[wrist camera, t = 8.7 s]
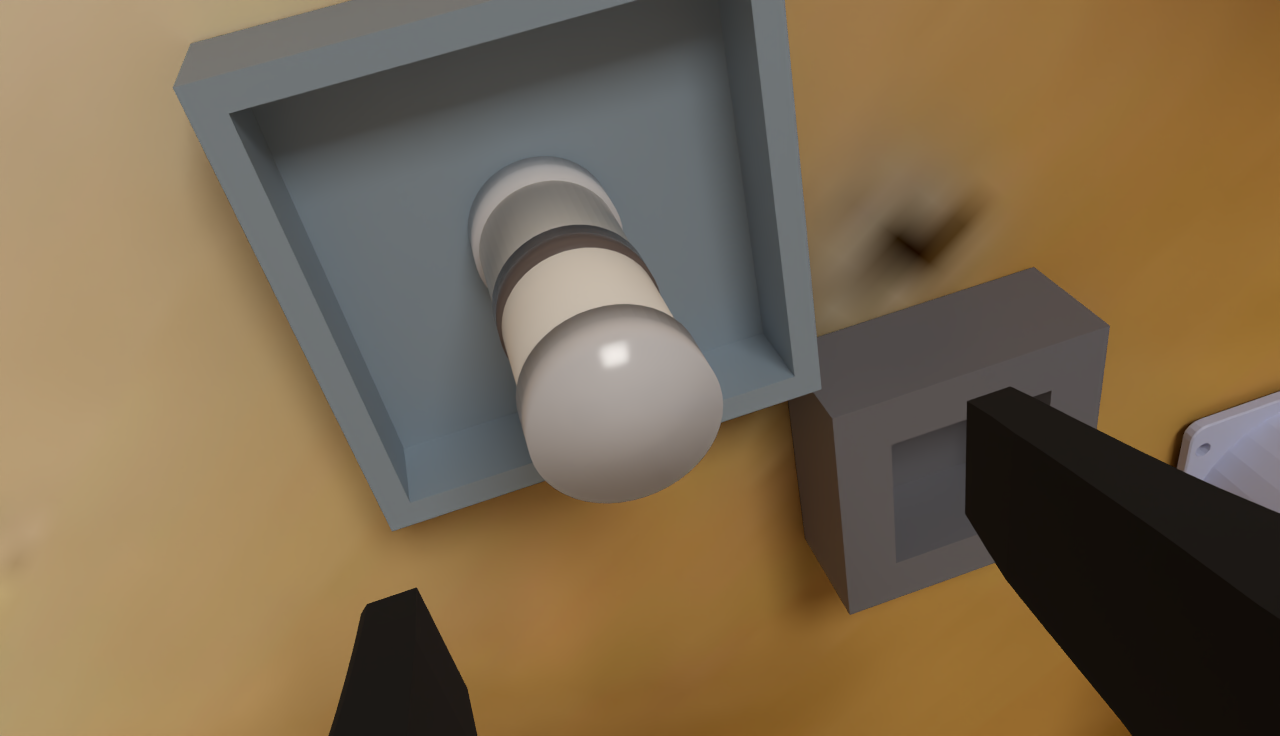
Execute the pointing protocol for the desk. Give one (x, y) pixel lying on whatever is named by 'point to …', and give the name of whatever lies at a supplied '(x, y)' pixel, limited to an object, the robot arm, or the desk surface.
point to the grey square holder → (927, 426)
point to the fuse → (589, 337)
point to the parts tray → (462, 163)
